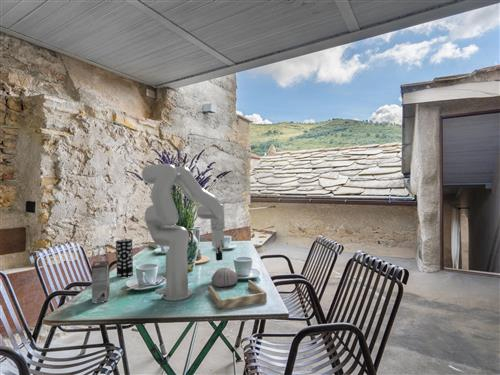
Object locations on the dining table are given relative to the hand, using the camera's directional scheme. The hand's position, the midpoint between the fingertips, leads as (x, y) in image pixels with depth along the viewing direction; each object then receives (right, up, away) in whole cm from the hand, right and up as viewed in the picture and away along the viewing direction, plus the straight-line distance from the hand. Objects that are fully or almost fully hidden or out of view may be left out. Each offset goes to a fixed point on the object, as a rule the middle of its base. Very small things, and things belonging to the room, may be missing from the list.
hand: (219, 259), depth 158 cm
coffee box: (-50, -11, -29) cm, 58 cm away
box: (+11, -9, -30) cm, 33 cm away
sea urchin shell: (+4, -9, -12) cm, 16 cm away
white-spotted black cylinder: (-54, -11, +6) cm, 55 cm away
